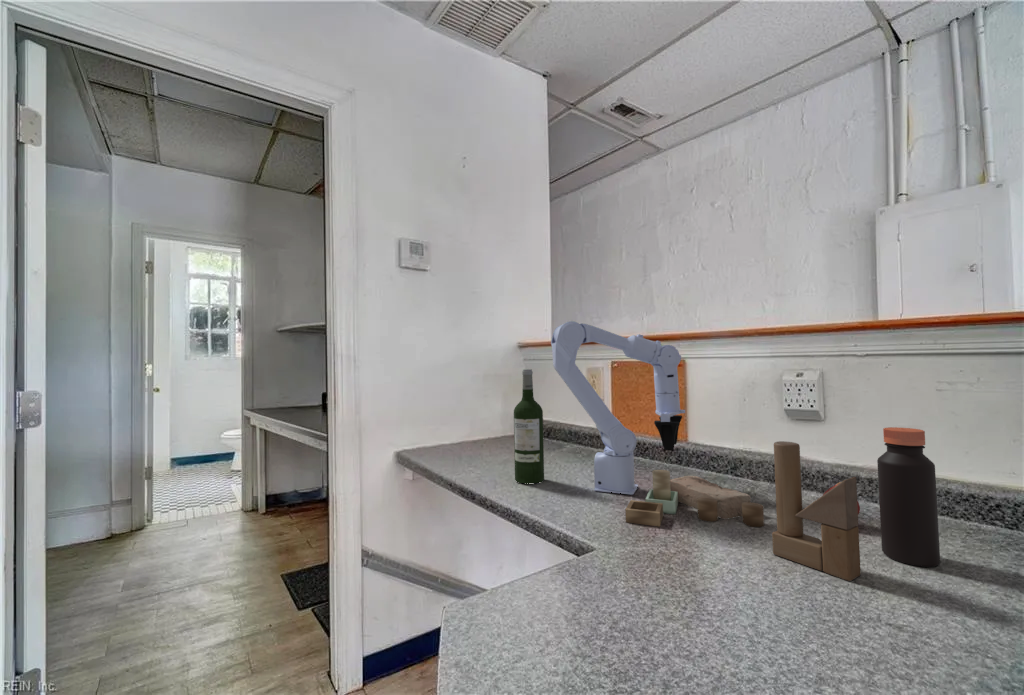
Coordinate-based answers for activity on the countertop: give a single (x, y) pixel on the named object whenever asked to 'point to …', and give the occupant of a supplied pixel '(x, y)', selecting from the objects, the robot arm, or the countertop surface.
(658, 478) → the dowel
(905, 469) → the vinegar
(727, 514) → the brick
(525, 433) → the wine bottle
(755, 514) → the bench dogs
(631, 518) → the socket block
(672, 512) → the tray
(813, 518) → the wooden block
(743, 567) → the countertop surface
